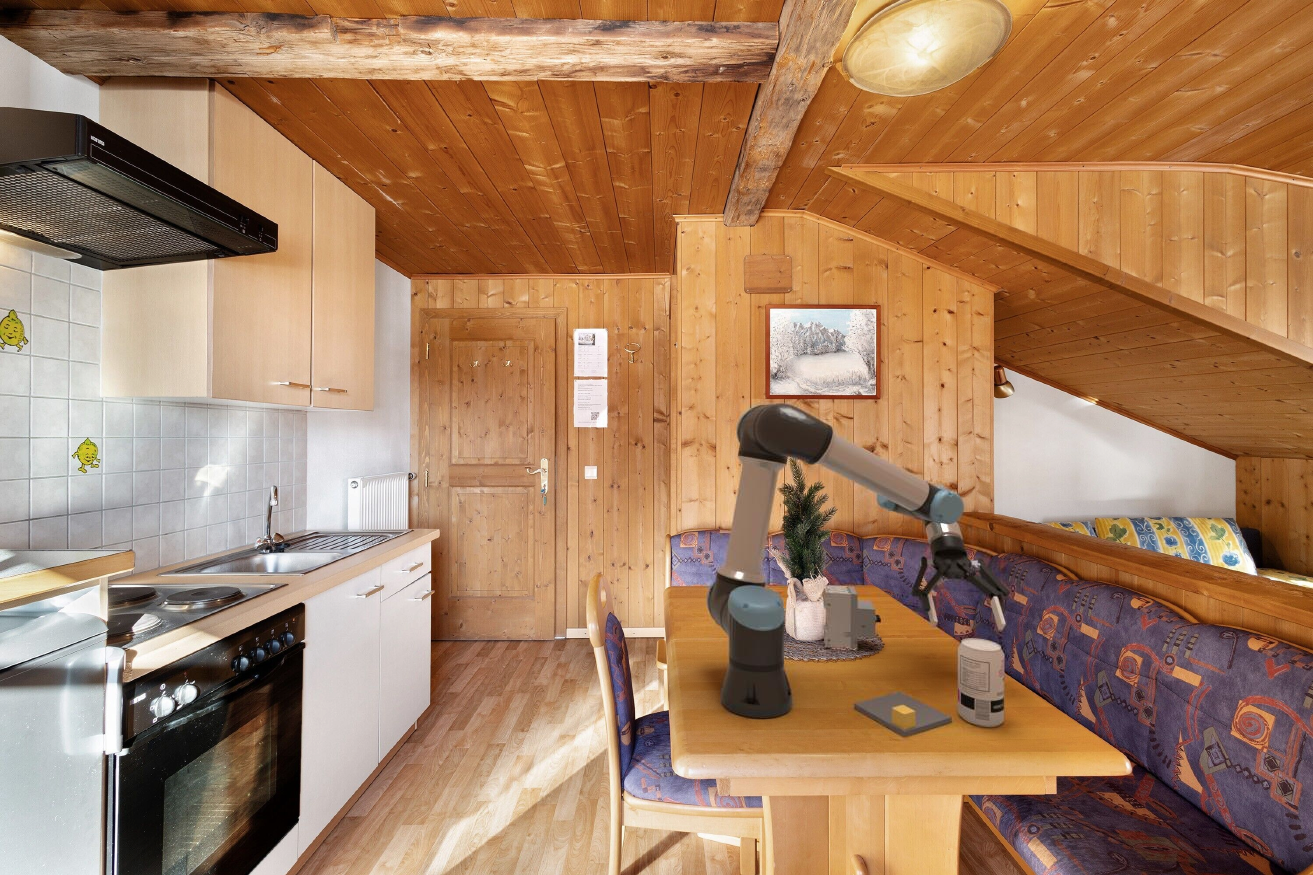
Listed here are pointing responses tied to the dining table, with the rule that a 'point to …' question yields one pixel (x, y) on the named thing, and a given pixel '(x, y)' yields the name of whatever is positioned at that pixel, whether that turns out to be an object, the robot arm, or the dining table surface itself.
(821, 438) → the robot arm
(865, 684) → the dining table surface
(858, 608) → the circuit breaker
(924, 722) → the pad
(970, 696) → the supplement can
